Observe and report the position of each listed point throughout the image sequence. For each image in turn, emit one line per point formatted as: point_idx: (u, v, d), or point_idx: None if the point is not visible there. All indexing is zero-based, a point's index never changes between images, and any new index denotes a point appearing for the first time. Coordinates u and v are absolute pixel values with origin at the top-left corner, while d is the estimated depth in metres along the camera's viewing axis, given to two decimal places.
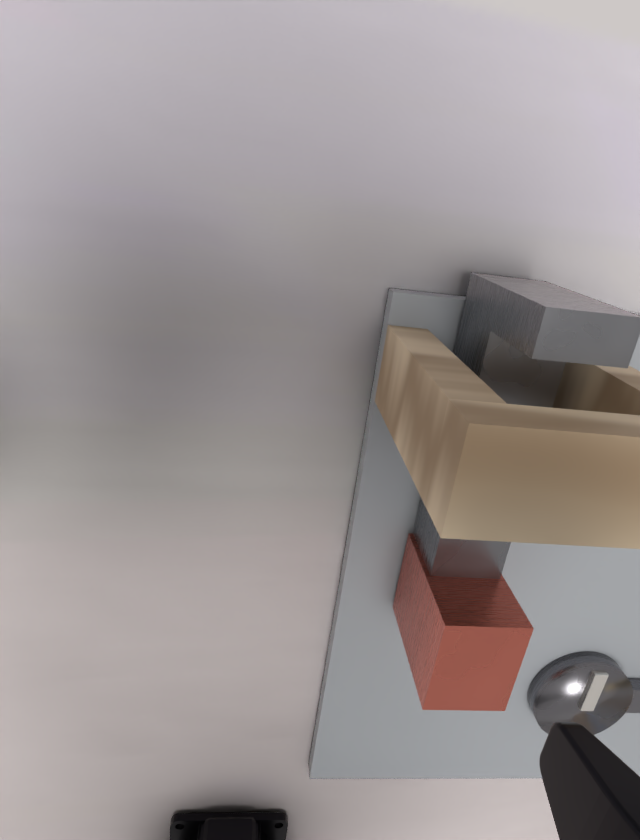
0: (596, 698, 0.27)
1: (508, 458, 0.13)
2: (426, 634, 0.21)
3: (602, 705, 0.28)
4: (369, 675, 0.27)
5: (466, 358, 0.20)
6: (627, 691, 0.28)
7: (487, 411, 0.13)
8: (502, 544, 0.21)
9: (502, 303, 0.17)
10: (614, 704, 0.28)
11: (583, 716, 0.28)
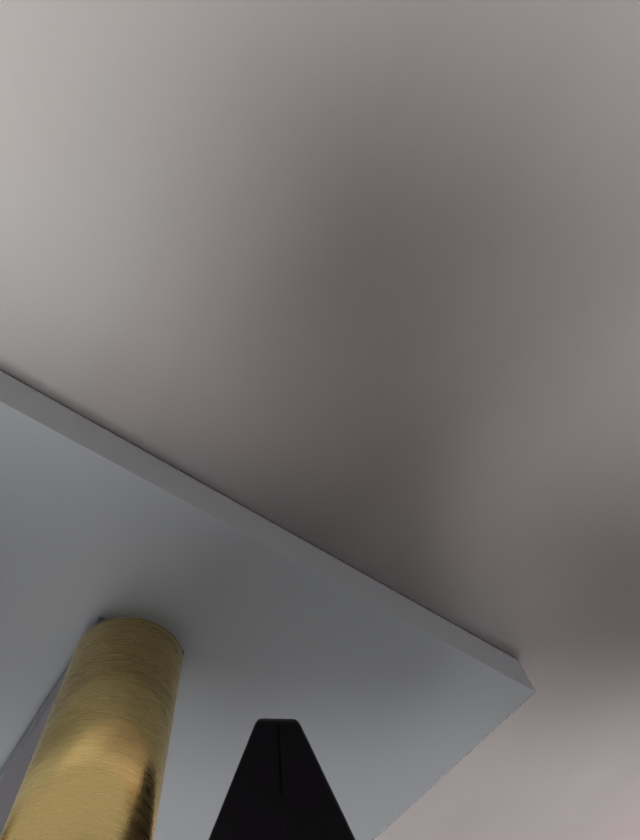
0: None
1: None
2: None
3: None
4: None
5: None
6: None
7: None
8: None
9: None
10: None
11: None
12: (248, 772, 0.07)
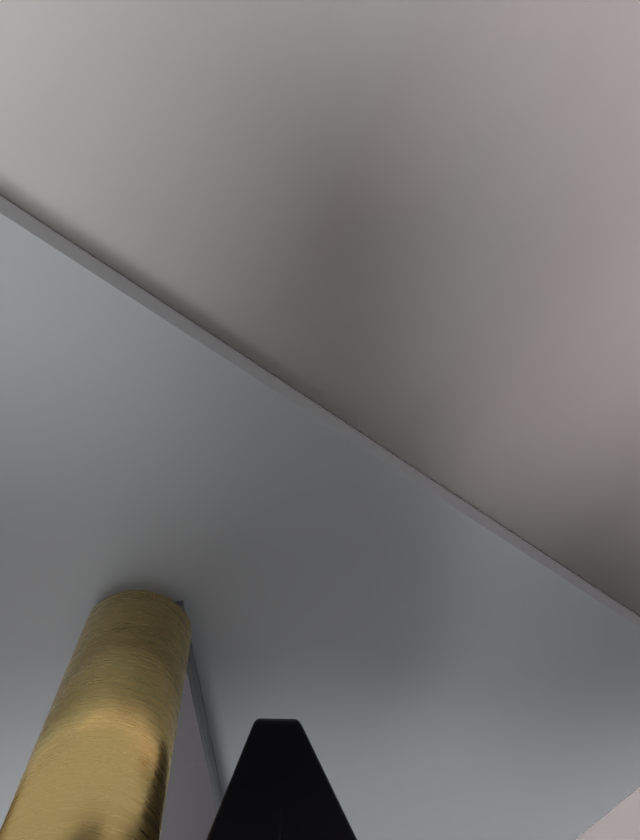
0: None
1: None
2: None
3: None
4: None
5: None
6: None
7: None
8: None
9: None
10: None
11: None
12: (246, 772, 0.07)
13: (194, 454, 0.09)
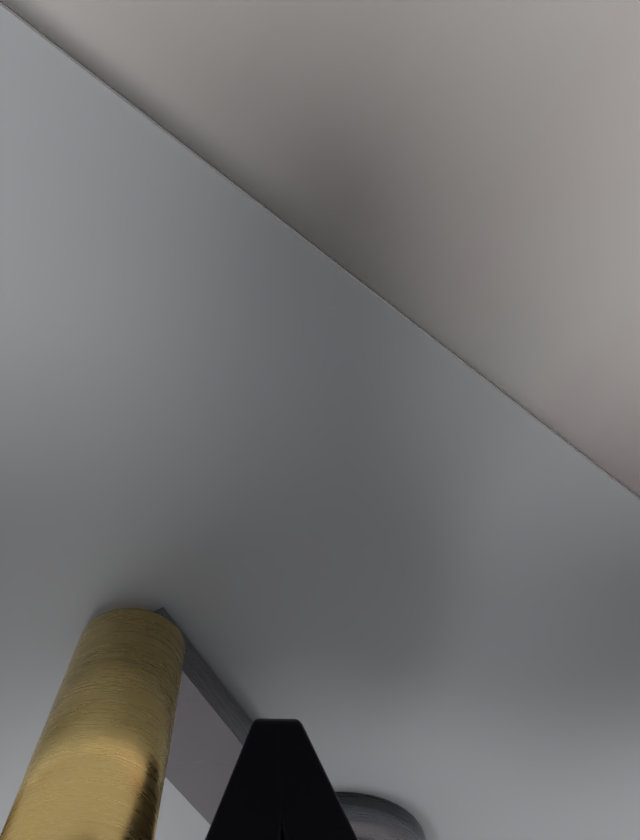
0: None
1: None
2: None
3: None
4: None
5: None
6: None
7: None
8: None
9: None
10: None
11: None
12: (245, 772, 0.07)
13: (371, 426, 0.09)
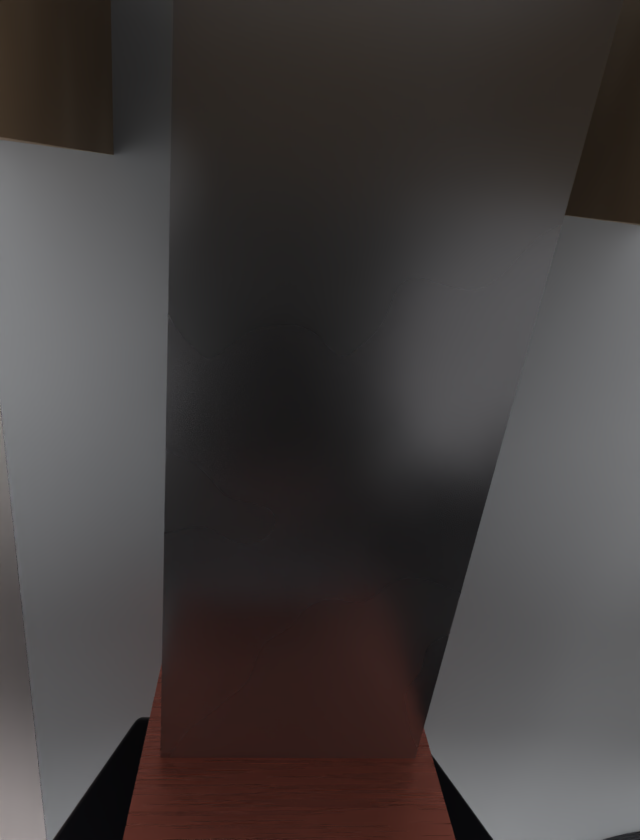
0: None
1: None
2: None
3: None
4: None
5: None
6: None
7: None
8: (415, 648, 0.06)
9: None
10: None
11: None
12: (112, 772, 0.07)
13: None
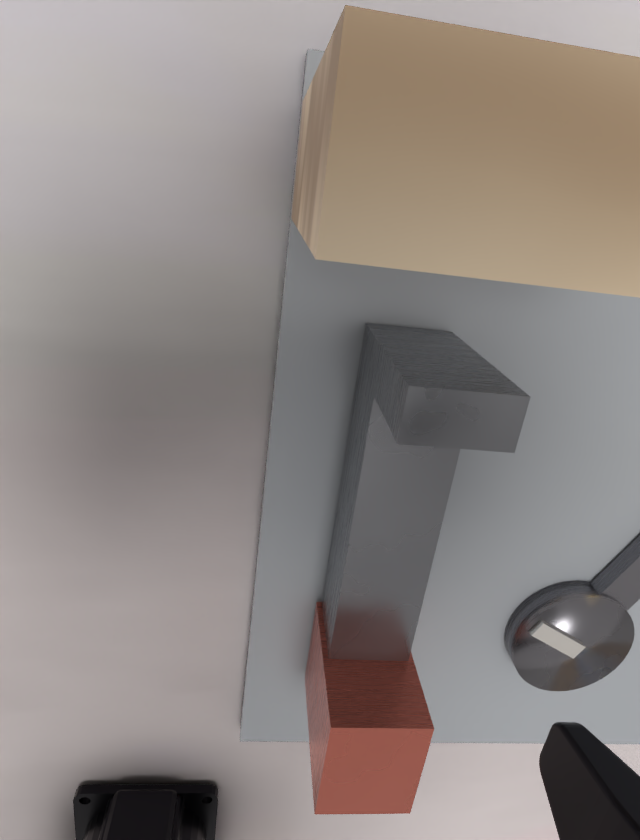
0: (568, 640, 0.22)
1: (421, 91, 0.07)
2: (320, 728, 0.18)
3: (592, 630, 0.22)
4: (306, 608, 0.22)
5: (359, 420, 0.17)
6: (593, 603, 0.22)
7: None
8: (408, 624, 0.19)
9: (382, 368, 0.15)
10: (602, 618, 0.22)
11: (592, 650, 0.23)
12: None
13: None
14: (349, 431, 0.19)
